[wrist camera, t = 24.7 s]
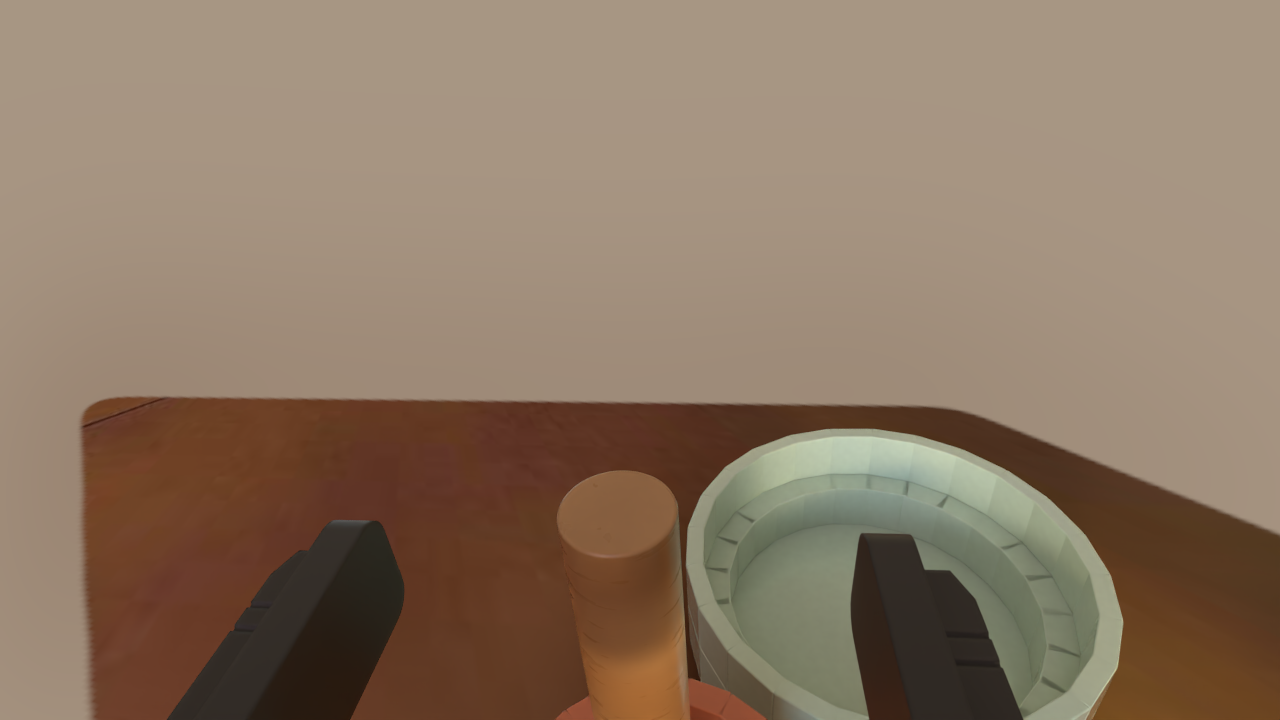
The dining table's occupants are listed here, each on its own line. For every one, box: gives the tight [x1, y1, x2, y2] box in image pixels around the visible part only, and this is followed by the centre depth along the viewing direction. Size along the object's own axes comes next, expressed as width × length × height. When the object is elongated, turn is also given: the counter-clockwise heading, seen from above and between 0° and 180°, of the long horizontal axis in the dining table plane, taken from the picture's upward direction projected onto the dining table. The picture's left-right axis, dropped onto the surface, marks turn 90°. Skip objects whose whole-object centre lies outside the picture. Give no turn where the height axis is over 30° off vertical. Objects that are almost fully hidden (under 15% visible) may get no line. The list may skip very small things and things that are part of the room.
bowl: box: [686, 429, 1123, 720], centre depth 31 cm, size 18×18×6 cm
